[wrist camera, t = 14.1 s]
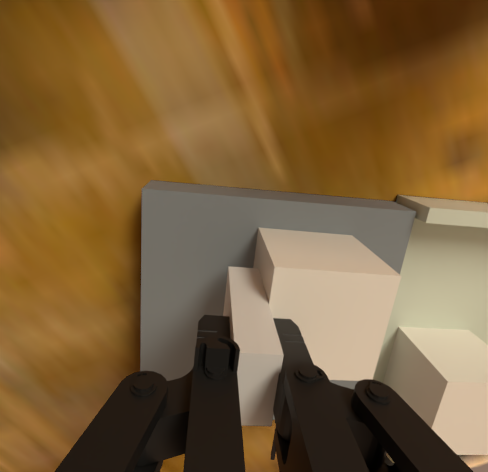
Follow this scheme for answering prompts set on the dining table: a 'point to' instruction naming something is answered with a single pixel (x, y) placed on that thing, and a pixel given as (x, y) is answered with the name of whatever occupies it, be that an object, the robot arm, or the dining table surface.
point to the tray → (441, 271)
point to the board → (233, 252)
